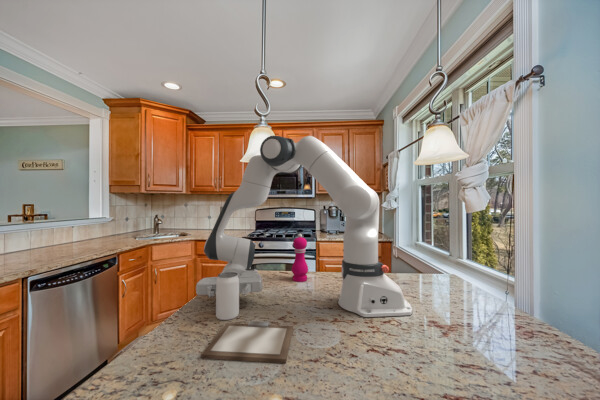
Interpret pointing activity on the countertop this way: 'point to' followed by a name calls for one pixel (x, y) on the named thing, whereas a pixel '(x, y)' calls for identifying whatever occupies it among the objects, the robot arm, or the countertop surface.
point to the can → (227, 296)
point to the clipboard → (251, 342)
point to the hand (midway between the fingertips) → (228, 293)
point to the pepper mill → (299, 260)
